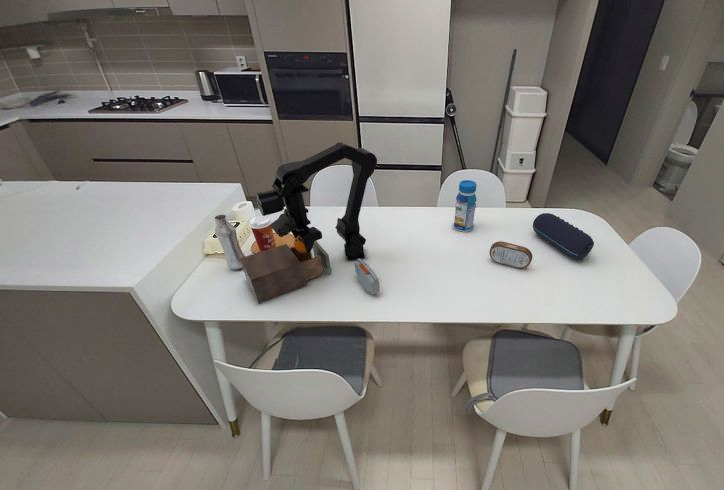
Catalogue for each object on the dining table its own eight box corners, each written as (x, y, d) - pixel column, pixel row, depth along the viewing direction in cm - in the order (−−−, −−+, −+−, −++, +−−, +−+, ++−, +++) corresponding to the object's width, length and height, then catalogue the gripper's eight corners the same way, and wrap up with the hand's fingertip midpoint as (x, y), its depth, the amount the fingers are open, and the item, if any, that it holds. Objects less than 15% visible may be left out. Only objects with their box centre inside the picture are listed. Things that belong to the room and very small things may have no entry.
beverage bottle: (474, 232, 146) (480, 187, 134) (454, 232, 146) (458, 187, 134) (471, 222, 152) (477, 178, 140) (452, 222, 153) (456, 178, 141)
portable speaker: (593, 259, 130) (602, 236, 125) (574, 266, 127) (582, 243, 121) (545, 228, 148) (551, 207, 143) (527, 234, 145) (532, 212, 139)
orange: (315, 234, 120) (300, 227, 114) (318, 248, 116) (303, 242, 111) (303, 244, 122) (287, 238, 116) (306, 258, 119) (290, 252, 113)
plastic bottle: (236, 273, 122) (217, 224, 110) (224, 267, 125) (205, 218, 113) (251, 264, 127) (235, 215, 115) (239, 259, 130) (222, 210, 118)
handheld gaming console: (381, 296, 113) (379, 277, 109) (373, 299, 112) (371, 280, 107) (361, 273, 123) (359, 254, 118) (354, 275, 122) (351, 257, 117)
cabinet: (291, 266, 126) (286, 243, 121) (306, 285, 117) (300, 262, 112) (247, 281, 119) (239, 258, 113) (258, 303, 110) (250, 280, 104)
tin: (530, 267, 126) (535, 248, 121) (528, 272, 124) (533, 252, 119) (489, 257, 131) (492, 238, 126) (487, 261, 129) (490, 242, 124)
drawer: (320, 255, 130) (317, 237, 126) (334, 271, 122) (331, 253, 118) (278, 269, 123) (273, 251, 118) (290, 288, 115) (286, 269, 110)
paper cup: (273, 259, 130) (263, 226, 121) (254, 256, 131) (243, 224, 122) (283, 247, 136) (275, 215, 127) (265, 245, 137) (255, 213, 129)
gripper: (258, 203, 110) (270, 245, 119) (284, 226, 98) (294, 270, 108) (291, 193, 116) (300, 234, 125) (319, 214, 104) (326, 257, 114)
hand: (304, 248), depth 118 cm, fingers closed on orange, 6 cm apart
